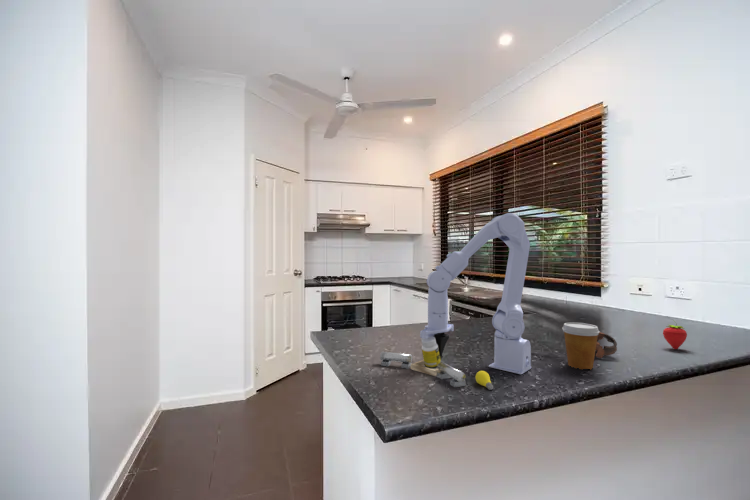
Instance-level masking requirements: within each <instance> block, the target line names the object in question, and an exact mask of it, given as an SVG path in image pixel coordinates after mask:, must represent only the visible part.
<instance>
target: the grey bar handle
mask: <svg viewBox="0 0 750 500" xmlns="http://www.w3.org/2000/svg"><path fill="white" fill-rule="evenodd" d="M379 356H380V357H379V358H380V361H381V367H389V366H390V365H391V364H392V362H394V363H395V362H396V363H397V362H398V363H401V369H405V370H406V369H407V370H409V368H411V364H413V354H409V353H399V352H389V351H380V355H379Z"/></svg>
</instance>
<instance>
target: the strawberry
mask: <svg viewBox="0 0 750 500" xmlns="http://www.w3.org/2000/svg"><path fill="white" fill-rule="evenodd" d="M672 321H674V323H675V325H673V324H668V325H666V326H665V328H664V329H663V331H662V335H663V338H664V339H665V341H666V342H667V343H668V345H670V346H671V348H672V349H673V350H678V349H679V348H680V347H681V346H682V345H683V344H684V342H686V339H687V336H688V334H687V333H688V332H687V330H685V327H684V326H682V325H677V324H678V323H677V322H676V321H675V320H672Z"/></svg>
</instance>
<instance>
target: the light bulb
mask: <svg viewBox="0 0 750 500" xmlns="http://www.w3.org/2000/svg"><path fill="white" fill-rule="evenodd" d="M475 381H476V383H477V384H479V385H480V386H482V387H485V388H487V390H489V391H491V390H493V388H494V385H493V384H492V381H491V377H490V375H489V373H488V372H487V371H485V370H479V371H478V372H476V374H475Z"/></svg>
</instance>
